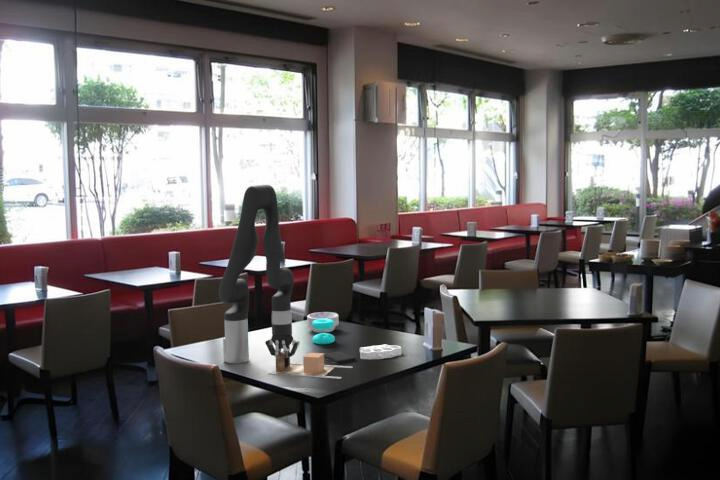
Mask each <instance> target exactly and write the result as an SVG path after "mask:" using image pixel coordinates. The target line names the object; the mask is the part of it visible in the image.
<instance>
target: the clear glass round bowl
mask: <svg viewBox="0 0 720 480" xmlns="http://www.w3.org/2000/svg"><path fill="white" fill-rule="evenodd" d="M306 319H307V320H306V321H307V322H306V323H307V324H306V325H307V327H308V328H310V329H311V330H312V331H313V333H317V334H321V333H328V334H329V333H331V332H333V331H334V330H335V329H336V327H337V326H339V324H340V321H339V320H340V319H339V314H338V313H337V312H331V311H322V312H321V311H320V312H319V311H318V312H313V313H310V314H308V315H307V316H306ZM317 319H331V320H333V321H334V326H333V327H332V328H330V329H325V330H320V329H316V328H314V327H313V326H312V322H313V321H314V320H317Z"/></svg>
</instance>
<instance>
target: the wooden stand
mask: <svg viewBox="0 0 720 480" xmlns="http://www.w3.org/2000/svg"><path fill="white" fill-rule="evenodd" d="M335 368H336V367H324V370H323V371H322V372H320V373H319V374H318V373H304V365H291V364H290V365H289V366H288V367H287V368H286V367H285V353H284V351H283V350H281V353H279V354H278V355H276V357H275V371H274V372H273V373H286V374H301V375H317V376H327V375H328V373H330V372H331V371H333V369H335Z"/></svg>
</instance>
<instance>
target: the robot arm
mask: <svg viewBox="0 0 720 480" xmlns="http://www.w3.org/2000/svg"><path fill="white" fill-rule="evenodd" d="M277 197H278V196H277V194H276V191H275V189H274V187H273V186H272V185H271V184H270V185H269V184H257V185H250V186H248V187H247V188H246V190H245V192H244V195H243V199H242V205H241V211H240V218H239V221H238V226H237V230H236V234H235V237H234V240H233V243H232V244H233V245H232V249H231V252H230V256H229V259H228V263H227V266H226V268H225V271H224V274H223V276H222V278H221V281H220V284H219V288H218V297H219V298H218V299H219V300H220V301H221V302H222V303H224V304H232V305H231V307H230V308H228V309H227V310H226V311H225V312H224V314H223V315H224V317H223V318H224V338H223V339H222V346H223V347H222V349H223V362H225V363H228V364H241V363H247V362H248V361H249V360H250V356H249V355H250V352H249V351H250V348H249V324H248V321H249V320H248V318H249V317H248V314H249V311H250V307H249V306H250V287H249V285H248V282H247V281H246V279H244V278H239V277H240V275H241V274H242V272H243V271H244V270H245V269H246V268H247V267H248V266H249V264H251V262H252V261H253V259H254V258H255V255H256V253H257V250H258V245H259V242H260V241H259V234H258V231H257V228H256V224H255V223H256V217H257V215H258V212H259V211H260V210H262V211H264V214H265V227H264V232H263V237H262V247H263V250H264V251H263V252H264V254H265V255H264V256H265V260H266V262H265V263H266V265H265V278H266V279H265V280H266V282H267V284H268V286H269V287H270V288H272V289H273V290H274V289H275V290H276V289H277V292H276V293H275V294H274V295H272V297H271V333H272V335H271V338H270V339H267V340H265V342H264V343H265V345H266V347H267V350H268V351H269V354H270V355H271V356H274V358H276V355H278V354H279V353H281V352H282V351H284V353H285V367H286V368H287V367H288V366H289V365H291V364H290V363H291V357H293V356H295V353H296V352H297V349H298V347H299V346H300V341H299V340H295V339H294V337H293V322H292V321H293V316H292V315H293V314H292V310H291V309H292V308H291V304H292V303H291V297H292V293H293V287H294V283H295V280H294V278H295V277H294V274H293V272H292V270H291V269H289V268H286V267H284V268H281V263H282V262H283V261H284V260H285V259H286V257H285V252H284V247H283V244H282V238H281V233H280V223H279V209H278V198H277ZM291 345H292V347H290V346H291ZM274 346H275V347H274ZM282 349H283V350H282Z"/></svg>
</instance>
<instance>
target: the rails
mask: <svg viewBox="0 0 720 480" xmlns="http://www.w3.org/2000/svg"><path fill="white" fill-rule="evenodd" d="M290 365H303V366H304V364H303V363H300V362H299V363H298V362H290ZM324 367H335V368H340V369H342V368H343V369H353V366H349V365H334V364H333V365H332V364H324ZM268 375H276V376H277V375H278V376H292V377H307V378H322V379H337V380H340V379H342V376H333V375H331V376H330V375H329V376H328V375H325V376H317V375H301V374H286V373H274V372H271V371H270V372H268Z"/></svg>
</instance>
